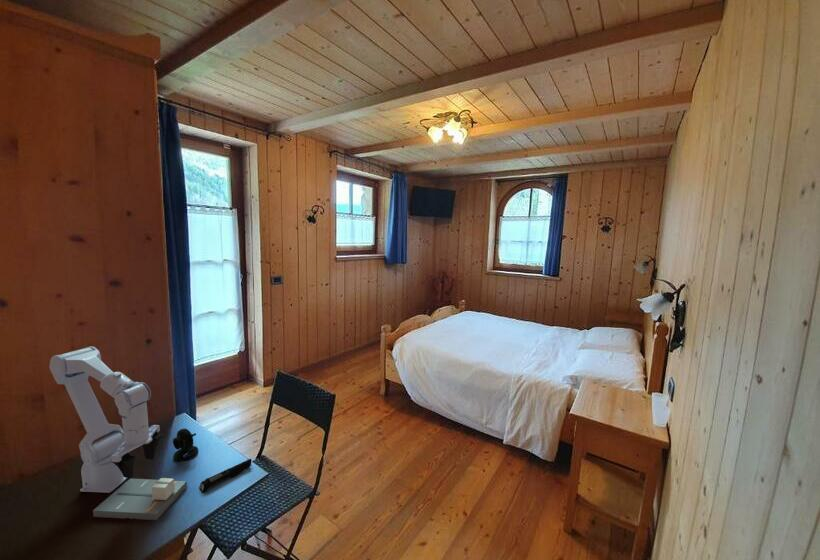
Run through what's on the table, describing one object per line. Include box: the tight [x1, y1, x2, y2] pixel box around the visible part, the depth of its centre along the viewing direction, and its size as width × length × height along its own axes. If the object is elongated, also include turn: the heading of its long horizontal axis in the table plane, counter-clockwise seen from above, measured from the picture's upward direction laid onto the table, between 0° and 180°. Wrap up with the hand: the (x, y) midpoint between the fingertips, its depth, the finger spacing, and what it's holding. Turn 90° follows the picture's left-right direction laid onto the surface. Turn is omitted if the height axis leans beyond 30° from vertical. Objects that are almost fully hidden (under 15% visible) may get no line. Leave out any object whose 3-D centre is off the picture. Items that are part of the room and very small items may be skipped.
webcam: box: [172, 428, 199, 463], centre depth 116 cm, size 8×8×10 cm
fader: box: [151, 477, 175, 500], centre depth 96 cm, size 4×4×4 cm
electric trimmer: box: [198, 458, 252, 494], centre depth 107 cm, size 4×16×3 cm, turn 139°
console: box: [92, 477, 188, 521], centre depth 97 cm, size 18×12×2 cm, turn 89°
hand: (139, 467), depth 97 cm, fingers open, 7 cm apart
